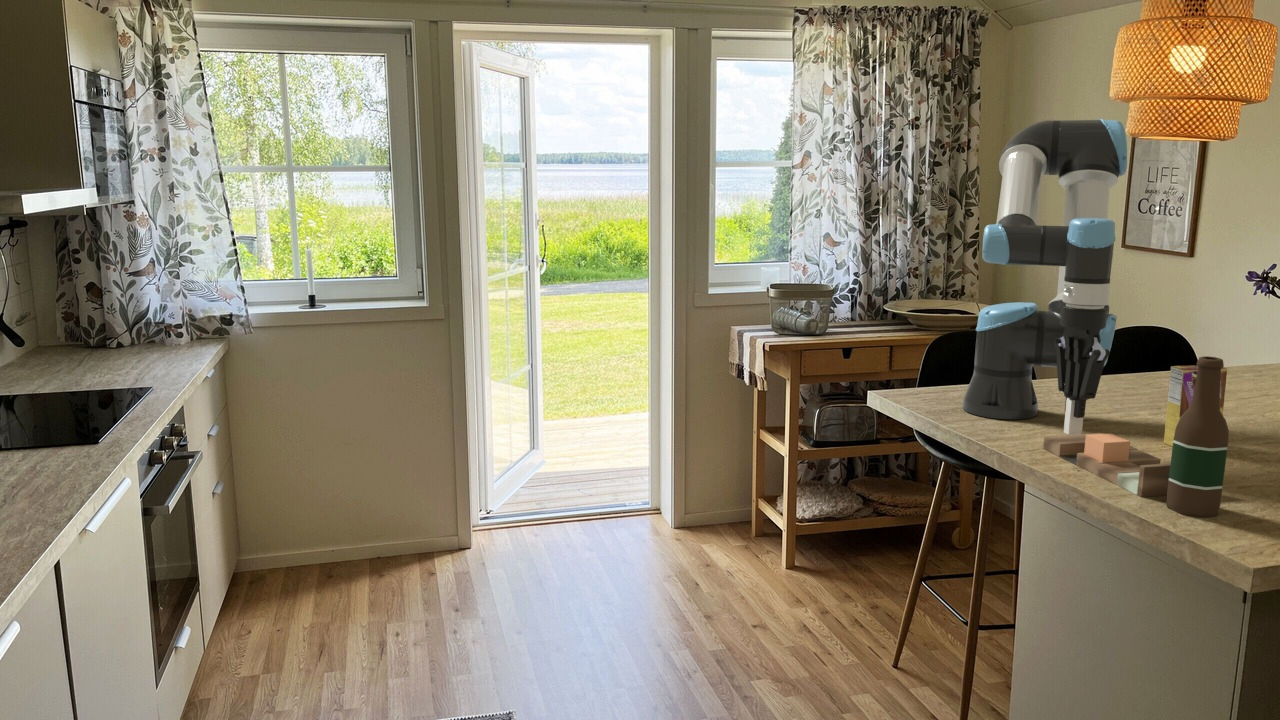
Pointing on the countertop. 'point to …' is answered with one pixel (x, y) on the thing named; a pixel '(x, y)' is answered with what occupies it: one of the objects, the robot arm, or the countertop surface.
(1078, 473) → the countertop surface
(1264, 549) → the countertop surface
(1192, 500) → the beer bottle
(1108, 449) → the block
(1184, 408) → the candy box
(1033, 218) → the robot arm
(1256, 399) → the countertop surface
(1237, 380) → the countertop surface
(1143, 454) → the board
